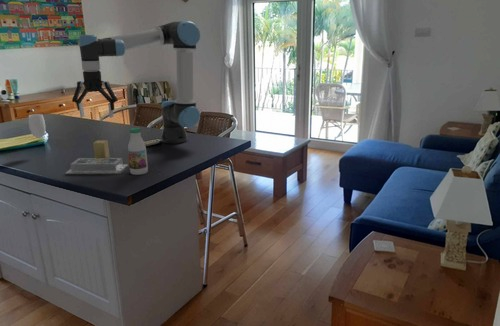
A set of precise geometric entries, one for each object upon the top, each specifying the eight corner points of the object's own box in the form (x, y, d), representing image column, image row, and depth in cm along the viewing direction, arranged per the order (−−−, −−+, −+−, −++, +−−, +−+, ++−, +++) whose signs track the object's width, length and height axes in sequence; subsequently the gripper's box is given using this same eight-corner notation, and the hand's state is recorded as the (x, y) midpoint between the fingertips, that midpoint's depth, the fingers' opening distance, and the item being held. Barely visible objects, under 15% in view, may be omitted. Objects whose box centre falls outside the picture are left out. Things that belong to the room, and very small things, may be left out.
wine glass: (35, 158, 200) (27, 117, 194) (33, 154, 206) (26, 114, 200) (51, 155, 204) (44, 115, 198) (49, 152, 210) (42, 113, 204)
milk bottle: (132, 170, 182) (127, 126, 176) (149, 169, 183) (145, 126, 177) (128, 175, 175) (123, 130, 169) (146, 175, 176) (142, 130, 169)
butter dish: (128, 165, 189) (127, 157, 187) (119, 173, 177) (118, 165, 176) (77, 165, 189) (75, 157, 188) (65, 174, 178) (64, 165, 176)
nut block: (109, 160, 197) (107, 140, 194) (106, 163, 192) (103, 143, 189) (99, 160, 197) (97, 140, 194) (95, 163, 192) (93, 143, 189)
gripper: (121, 69, 185) (126, 115, 191) (67, 69, 185) (73, 115, 191) (116, 71, 178) (121, 118, 184) (60, 71, 178) (66, 118, 184)
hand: (97, 117), depth 188 cm, fingers open, 13 cm apart
